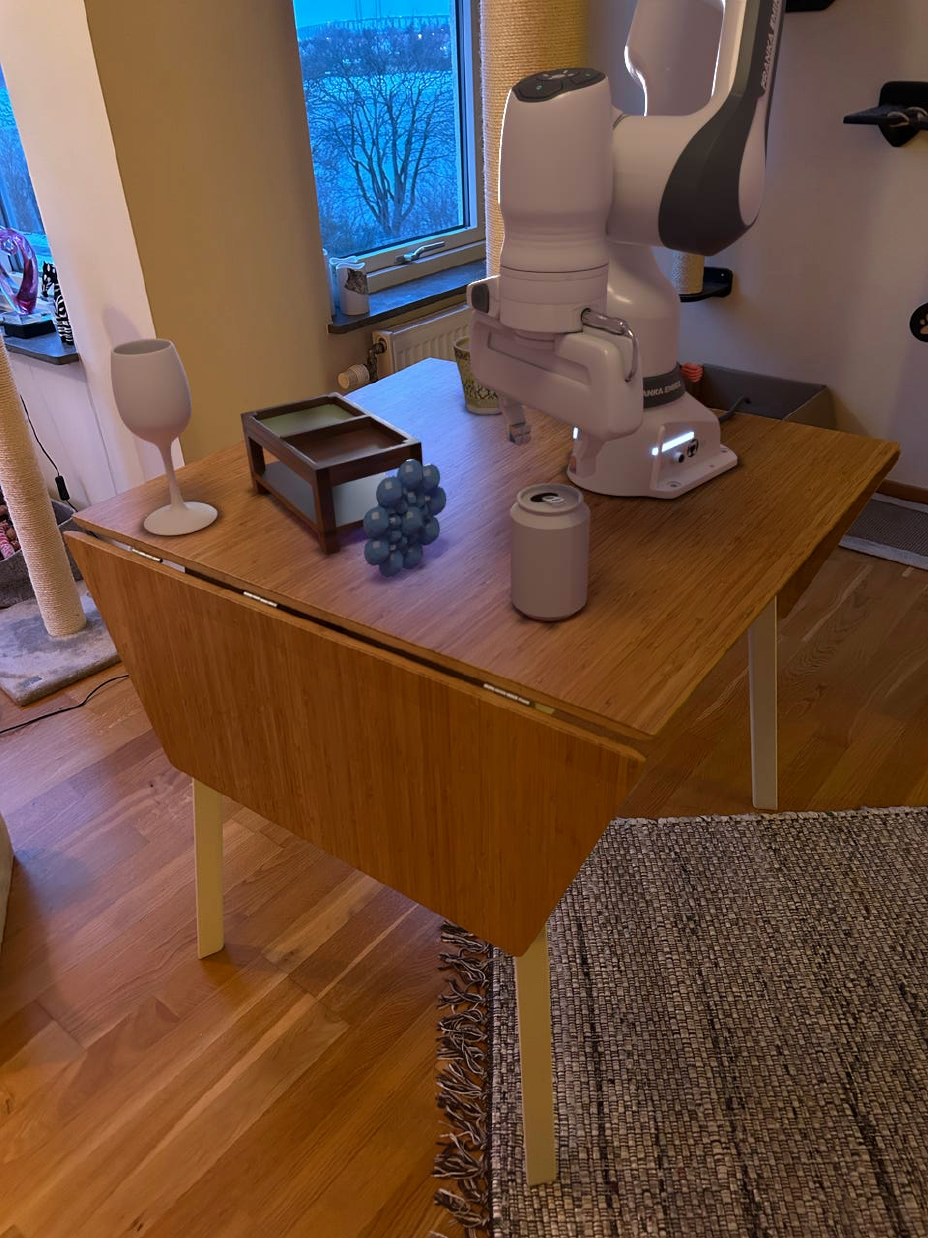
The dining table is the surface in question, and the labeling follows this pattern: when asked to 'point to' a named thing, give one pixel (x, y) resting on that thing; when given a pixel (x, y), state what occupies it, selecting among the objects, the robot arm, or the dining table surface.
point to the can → (549, 551)
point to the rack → (325, 460)
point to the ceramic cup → (473, 383)
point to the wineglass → (158, 420)
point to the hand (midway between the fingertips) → (549, 457)
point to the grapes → (404, 518)
